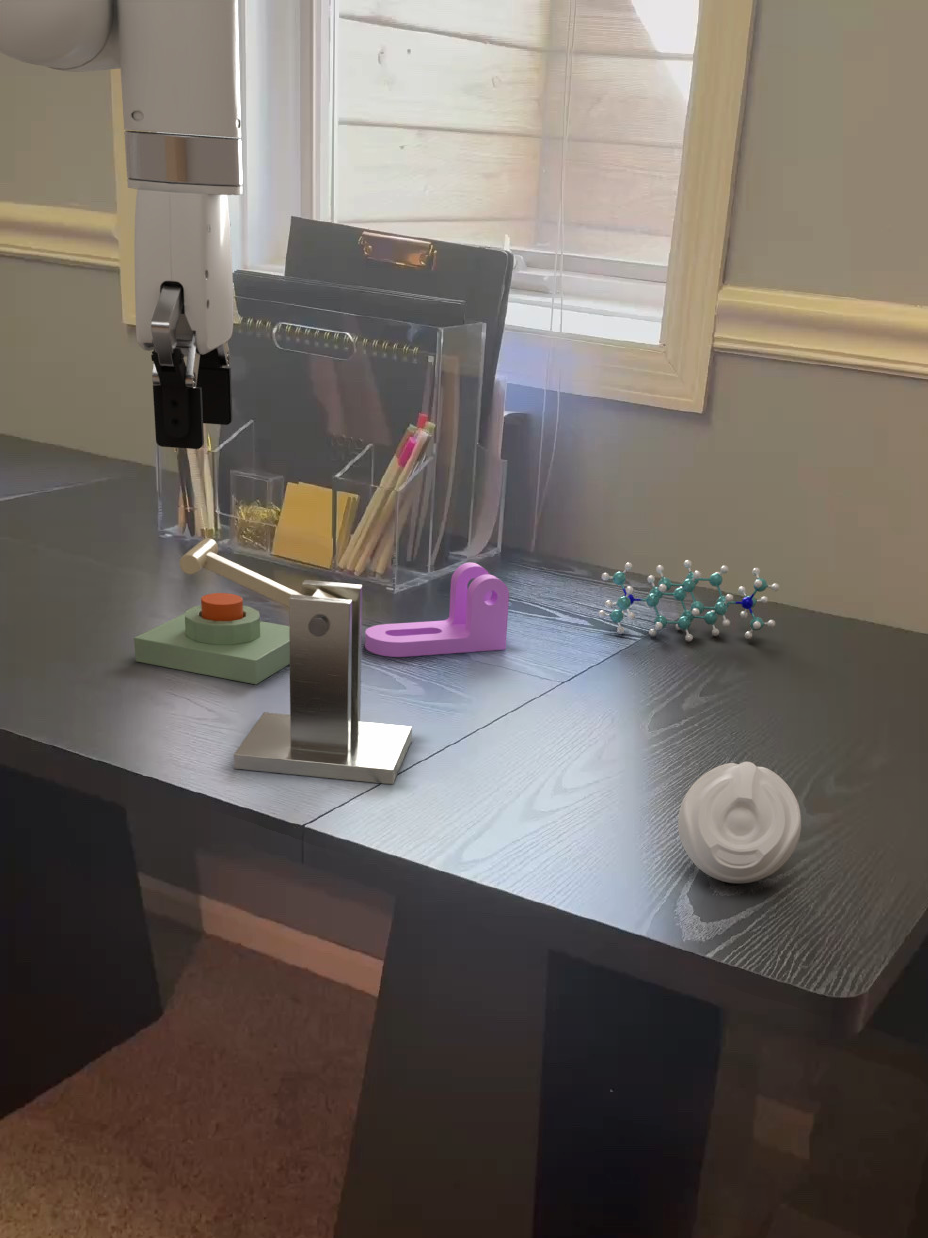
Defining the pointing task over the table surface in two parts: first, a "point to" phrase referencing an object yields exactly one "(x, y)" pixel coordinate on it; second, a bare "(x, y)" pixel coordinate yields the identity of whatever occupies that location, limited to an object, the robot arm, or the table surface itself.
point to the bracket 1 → (325, 699)
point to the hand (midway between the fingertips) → (196, 434)
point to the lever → (236, 572)
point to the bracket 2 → (452, 621)
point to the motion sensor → (739, 822)
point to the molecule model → (680, 595)
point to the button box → (217, 646)
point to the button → (222, 607)
